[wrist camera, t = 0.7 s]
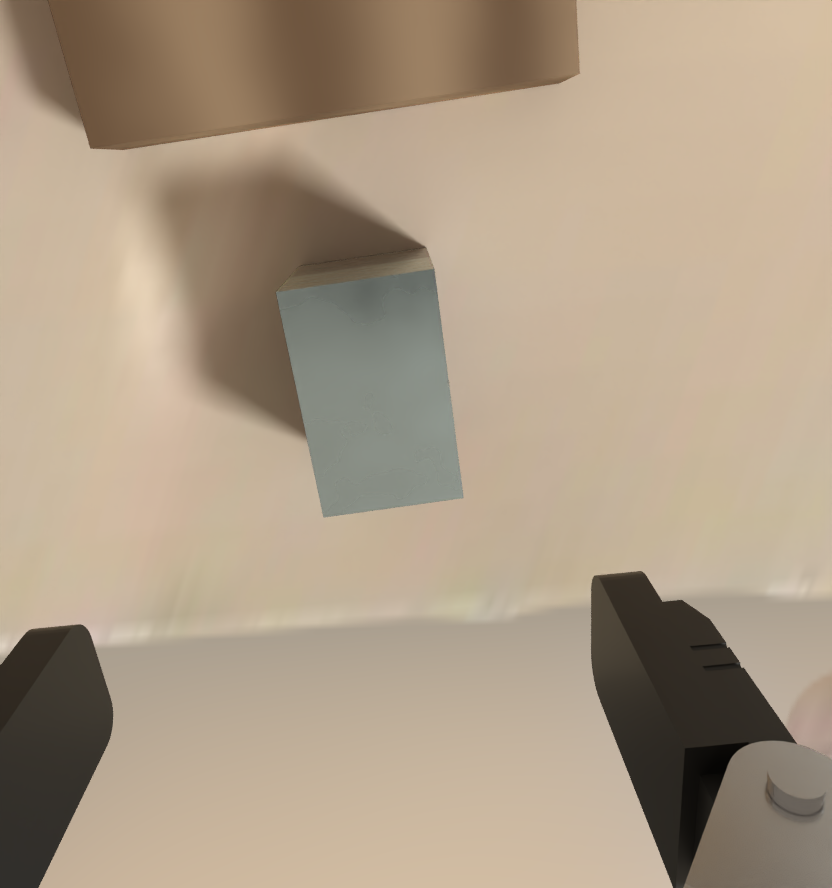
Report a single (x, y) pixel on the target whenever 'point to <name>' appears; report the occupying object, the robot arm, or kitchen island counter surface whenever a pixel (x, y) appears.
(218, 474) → the kitchen island counter surface
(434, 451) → the block
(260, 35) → the walnut stand
